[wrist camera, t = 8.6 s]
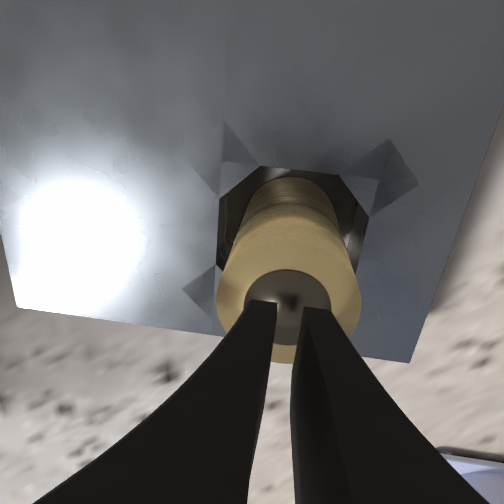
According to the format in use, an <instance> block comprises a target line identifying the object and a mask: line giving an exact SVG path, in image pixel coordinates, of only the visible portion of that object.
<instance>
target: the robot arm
mask: <svg viewBox="0 0 504 504" xmlns="http://www.w3.org/2000/svg"><path fill="white" fill-rule="evenodd" d="M276 322H277V302H269V301H262V300H255V299H252V300H250V301H249V302H247V303H246V306H245V308H244V309H243V311H242V313H241V315H240V316H239V318H238V319H237V321H236V322H235V324H234V325H233V326H232V328H231V329H230V331H229V332H228V333H227V334H226V336H225V337H224V338H223V340H222V341H221V342H220V343H219V345H218V346H217V347H216V348H215V350H214V351H213V352H212V353H211V354H210V356H209V357H208V358H207V359H206V360H205V361H204V362H203V363H202V364H201V365H200V366H199V368H198V369H197V370H196V371H195V372H194V373H193V374H192V375H191V376H190V377H189V378H188V379H187V380H186V381H185V382H184V383H183V384H182V385H181V386H180V387H179V388H178V389H177V390H176V391H175V392H174V393H173V394H172V395H171V396H170V397H169V398H168V399H167V400H166V401H165V402H164V403H163V404H161V405H160V406H159V407H158V408H157V409H156V410H155V411H154V412H153V413H152V414H150V415H149V416H148V417H147V418H146V419H145V420H143V421H142V422H141V423H140V424H138V425H137V426H136V427H135V428H134V429H132V430H131V431H130V432H129V433H128V434H126V435H125V436H124V437H123V438H122V439H120V440H119V441H118V442H117V443H115V444H114V445H113V446H112V447H110V448H109V449H108V450H106V451H105V452H104V453H103V454H101V455H100V456H99V457H97V458H96V459H95V460H93V461H92V462H91V463H89V464H88V465H86V466H85V467H84V468H82V469H81V470H79V471H78V472H77V473H75V474H74V475H72V476H71V477H69V478H68V479H67V480H65V481H64V482H62V483H61V484H60V485H58V486H57V487H55V488H54V489H53V490H51V491H50V492H48V493H47V494H46V495H44V496H43V497H41V498H40V499H38V500H37V501H36V502H34V503H33V504H247V498H248V489H249V479H250V474H251V469H252V464H253V459H254V454H255V449H256V444H257V439H258V434H259V429H260V424H261V419H262V414H263V409H264V403H265V396H266V389H267V383H268V376H269V369H270V363H271V356H272V349H273V342H274V336H275V329H276ZM290 425H291V442H292V459H293V475H294V491H295V504H504V463H499V462H493V461H486V460H480V459H474V458H467V457H461V456H454V455H448V454H442V453H439V452H438V451H437V450H436V449H435V448H434V446H433V445H432V444H431V443H430V442H429V441H428V440H427V439H426V438H425V437H424V436H423V435H422V434H421V432H420V431H419V430H418V429H417V428H416V427H415V426H414V425H413V423H412V422H411V421H410V420H409V419H408V418H407V416H406V415H405V414H404V413H403V412H402V410H401V409H400V408H399V407H398V405H397V404H396V403H395V402H394V400H393V399H392V398H391V397H390V395H389V394H388V393H387V392H386V390H385V389H384V388H383V386H382V385H381V384H380V382H379V381H378V380H377V378H376V377H375V376H374V374H373V373H372V371H371V370H370V369H369V367H368V366H367V364H366V363H365V362H364V360H363V359H362V357H361V356H360V355H359V353H358V352H357V350H356V349H355V347H354V346H353V344H352V343H351V341H350V340H349V338H348V337H347V335H346V333H345V332H344V330H343V329H342V327H341V326H340V324H339V322H338V321H337V319H336V318H335V316H334V314H333V313H332V312H331V310H328V309H320V308H313V307H306V306H304V309H303V314H302V320H301V325H300V331H299V336H298V341H297V347H296V352H295V358H294V363H293V369H292V378H291V398H290Z"/></svg>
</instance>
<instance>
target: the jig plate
mask: <svg viewBox="0 0 504 504" xmlns="http://www.w3.org/2000/svg"><path fill="white" fill-rule="evenodd" d="M503 105H504V0H0V232H1V237H2V241H3V246H4V250H5V255H6V259H7V264H8V268H9V273H10V277H11V281H12V286H13V290H14V295H15V299H16V304H17V307H21V308H28V309H35V310H42V311H49V312H56V313H62V314H69V315H76V316H83V317H90V318H97V319H104V320H111V321H118V322H125V323H132V324H139V325H146V326H153V327H160V328H167V329H174V330H181V331H188V332H195V333H202V334H209V335H216V336H222V337H225V336H226V334H227V333H226V331H225V330H224V328H223V326H222V324H221V322H220V320H219V317H218V313H217V308H216V293H217V288H218V285H219V282H220V279H221V276H222V274H223V271H224V268H225V266H226V263H227V260H228V258H229V255H230V252H231V249H232V246H231V245H230V244H229V243H228V242H227V241H226V233H227V219H228V204H229V191H230V190H231V189H232V188H233V187H235V186H236V185H237V184H238V183H240V182H241V181H242V180H243V179H245V178H246V177H247V176H248V175H250V174H251V173H252V172H253V171H254V170H256V169H257V168H258V167H259V166H268V167H277V168H285V169H294V170H302V171H311V172H320V173H328V174H337V175H339V176H340V178H341V179H342V180H343V182H344V183H345V184H346V186H347V187H348V188H349V190H350V191H351V193H352V194H353V195H354V197H355V198H356V199H357V201H358V203H357V208H356V212H355V216H354V221H353V225H352V230H351V234H350V238H349V243H348V247H347V252H348V255H349V259H350V262H351V265H352V268H353V271H354V274H355V277H356V281H357V284H358V287H359V291H360V294H361V313H360V317H359V321H358V323H357V326H356V328H355V330H354V331H353V333H352V334H351V336H350V337H349V340H350V341H351V343H352V344H353V346H354V347H355V349H356V350H357V352H358V353H359V355H360V356H362V357H369V358H375V359H382V360H389V361H396V362H403V363H410V361H411V358H412V355H413V352H414V350H415V347H416V344H417V341H418V339H419V336H420V333H421V330H422V328H423V325H424V322H425V319H426V317H427V314H428V311H429V308H430V306H431V303H432V300H433V297H434V295H435V292H436V289H437V286H438V284H439V281H440V278H441V275H442V273H443V270H444V267H445V264H446V262H447V259H448V256H449V253H450V251H451V248H452V245H453V242H454V240H455V237H456V234H457V231H458V229H459V226H460V223H461V220H462V218H463V215H464V212H465V209H466V207H467V204H468V201H469V199H470V196H471V193H472V190H473V188H474V185H475V182H476V179H477V177H478V174H479V171H480V168H481V166H482V163H483V160H484V157H485V155H486V152H487V149H488V146H489V144H490V141H491V138H492V135H493V133H494V130H495V127H496V124H497V122H498V119H499V116H500V113H501V111H502V108H503Z"/></svg>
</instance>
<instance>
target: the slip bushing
mask: <svg viewBox="0 0 504 504" xmlns="http://www.w3.org/2000/svg"><path fill="white" fill-rule="evenodd" d="M252 299H255V300H262V301H269V302H277V322H276V329H275V336H274V342H273V349H272V356H271V361H272V362H276V363H286V364H293V363H294V358H295V352H296V347H297V341H298V336H299V331H300V325H301V320H302V314H303V309H304V306H306V307H313V308H320V309H328V310H331V312H332V313H333V314H334V316H335V318H336V319H337V321H338V322H339V324H340V326H341V327H342V329H343V330H344V332H345V333H346V335H347V337H348V338H349V337H350V336H351V334H352V333H353V331H354V330H355V328H356V326H357V323H358V321H359V317H360V313H361V294H360V291H359V287H358V284H357V281H356V277H355V274H354V271H353V268H352V265H351V262H350V259H349V255H348V252H347V249H346V246H345V243H344V240H343V237H342V234H341V230H340V227H339V224H338V221H337V218H336V215H335V212H334V208H333V205H332V203H331V201H330V199H329V197H328V196H327V194H326V193H325V192H324V191H323V190H322V189H321V188H320V187H319V186H317V185H316V184H315V183H313V182H311V181H309V180H306V179H303V178H298V177H282V178H278V179H275V180H272V181H270V182H268V183H266V184H265V185H263V186H262V187H261V188H259V189H258V190H257V191H256V193H255V194H254V195H253V196H252V198H251V200H250V202H249V204H248V206H247V209H246V212H245V215H244V217H243V220H242V223H241V225H240V228H239V231H238V233H237V236H236V239H235V241H234V244H233V247H232V249H231V252H230V255H229V258H228V260H227V263H226V266H225V268H224V271H223V274H222V276H221V279H220V282H219V285H218V288H217V293H216V308H217V313H218V317H219V320H220V322H221V324H222V326H223V328H224V330H225V331H226V333H228V332H229V331H230V329H231V328H232V326H233V325H234V324H235V322H236V321H237V319H238V318H239V316H240V315H241V313H242V311H243V309H244V308H245V306H246V303H247V302H249V301H250V300H252Z"/></svg>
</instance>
